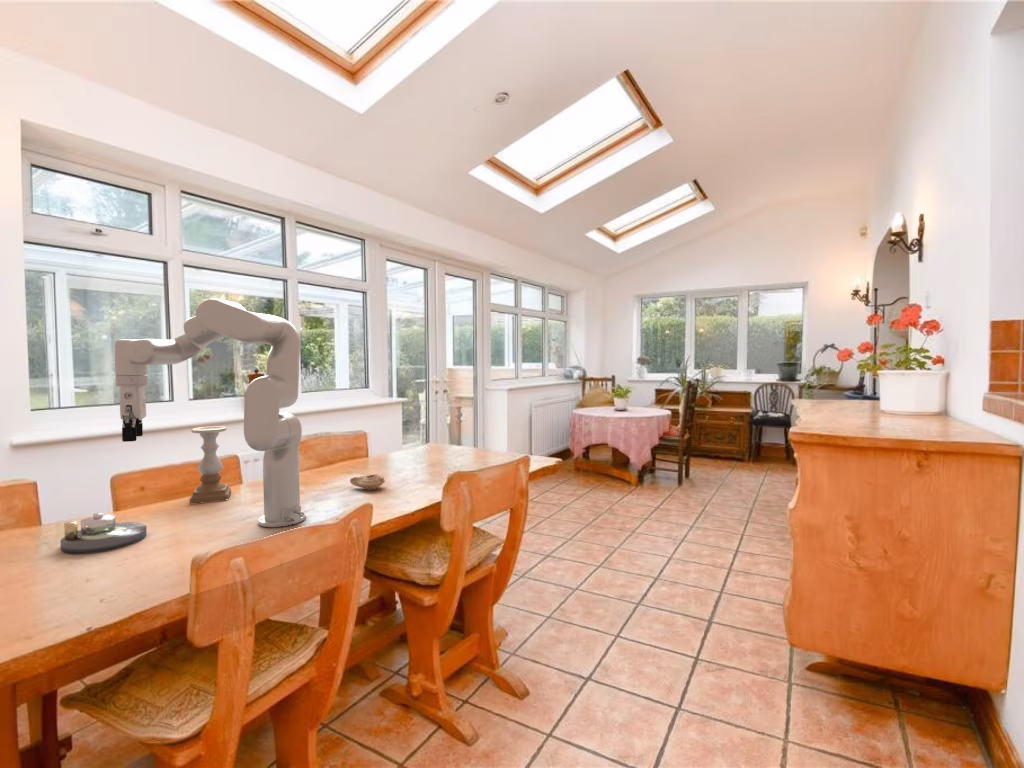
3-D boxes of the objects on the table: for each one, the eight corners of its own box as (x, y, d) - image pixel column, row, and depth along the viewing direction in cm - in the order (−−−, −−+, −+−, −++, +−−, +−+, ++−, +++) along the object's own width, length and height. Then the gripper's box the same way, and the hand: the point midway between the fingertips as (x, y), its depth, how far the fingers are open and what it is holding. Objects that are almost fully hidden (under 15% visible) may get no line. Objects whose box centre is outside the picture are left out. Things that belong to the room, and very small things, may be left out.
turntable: (157, 537, 129) (157, 515, 129) (74, 559, 115) (72, 534, 114) (131, 525, 138) (130, 504, 138) (51, 544, 124) (50, 520, 124)
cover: (120, 528, 130) (119, 512, 130) (86, 536, 124) (85, 519, 124) (110, 523, 134) (109, 508, 134) (76, 531, 128) (76, 515, 128)
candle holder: (194, 495, 169) (192, 427, 168) (231, 492, 174) (229, 425, 173) (189, 504, 159) (187, 431, 158) (228, 500, 164) (226, 429, 163)
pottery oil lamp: (355, 484, 184) (364, 466, 186) (381, 497, 181) (390, 479, 182) (343, 481, 176) (353, 463, 178) (371, 495, 173) (380, 476, 174)
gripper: (141, 382, 140) (143, 442, 140) (152, 379, 155) (153, 433, 156) (108, 382, 136) (109, 444, 137) (122, 380, 151) (123, 435, 152)
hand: (132, 438), depth 146 cm, fingers open, 9 cm apart
